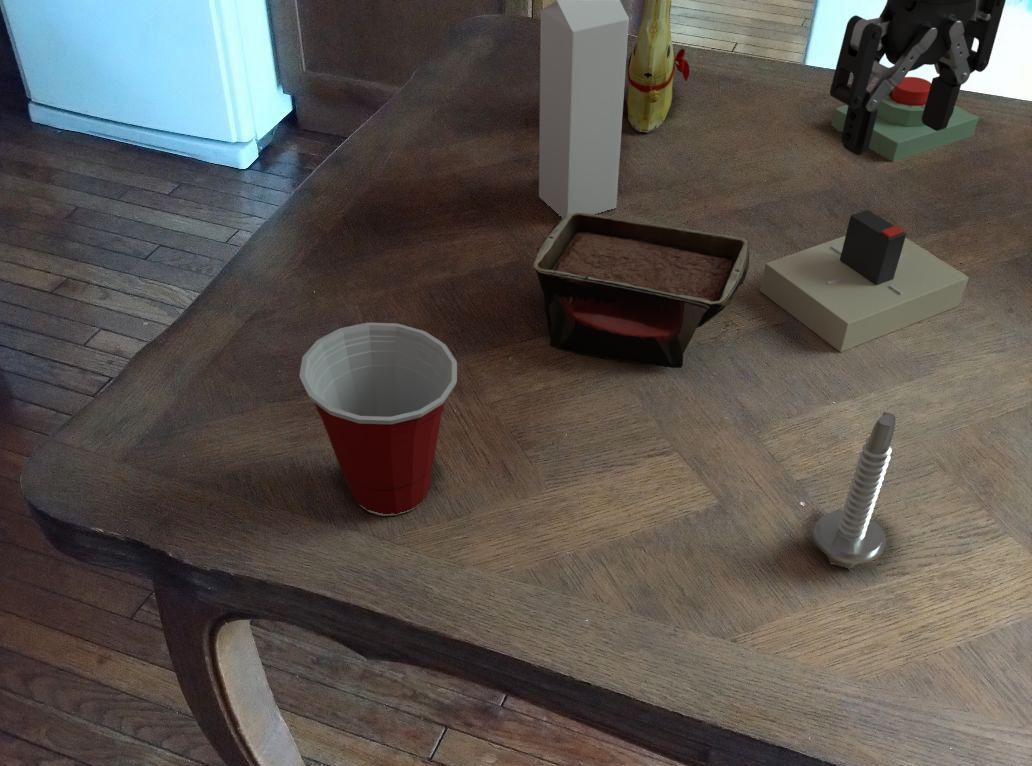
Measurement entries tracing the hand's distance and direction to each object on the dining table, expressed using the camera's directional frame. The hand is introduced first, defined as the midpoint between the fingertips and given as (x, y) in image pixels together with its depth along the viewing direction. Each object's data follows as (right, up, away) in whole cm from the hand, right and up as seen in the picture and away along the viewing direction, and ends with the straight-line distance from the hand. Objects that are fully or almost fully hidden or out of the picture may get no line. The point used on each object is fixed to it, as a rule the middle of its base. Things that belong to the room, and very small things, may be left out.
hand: (894, 138), depth 87 cm
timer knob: (+1, -9, +8) cm, 12 cm away
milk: (-24, +2, +24) cm, 34 cm away
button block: (+13, +13, +33) cm, 38 cm away
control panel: (+1, -11, +11) cm, 15 cm away
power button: (+13, +16, +31) cm, 37 cm away
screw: (-8, -34, -11) cm, 37 cm away
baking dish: (-20, -14, +9) cm, 26 cm away
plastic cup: (-40, -29, -6) cm, 50 cm away
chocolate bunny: (-14, +16, +37) cm, 43 cm away
